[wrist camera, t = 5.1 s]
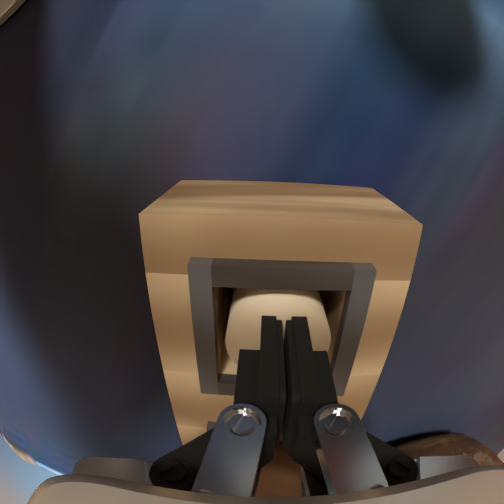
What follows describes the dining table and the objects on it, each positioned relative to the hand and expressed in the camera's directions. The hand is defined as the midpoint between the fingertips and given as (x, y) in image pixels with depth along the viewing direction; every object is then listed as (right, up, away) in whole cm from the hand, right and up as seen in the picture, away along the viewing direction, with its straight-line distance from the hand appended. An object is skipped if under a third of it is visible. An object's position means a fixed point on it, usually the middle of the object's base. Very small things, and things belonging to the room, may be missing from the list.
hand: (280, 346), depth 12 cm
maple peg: (0, +3, +6) cm, 7 cm away
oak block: (0, -2, +8) cm, 8 cm away
